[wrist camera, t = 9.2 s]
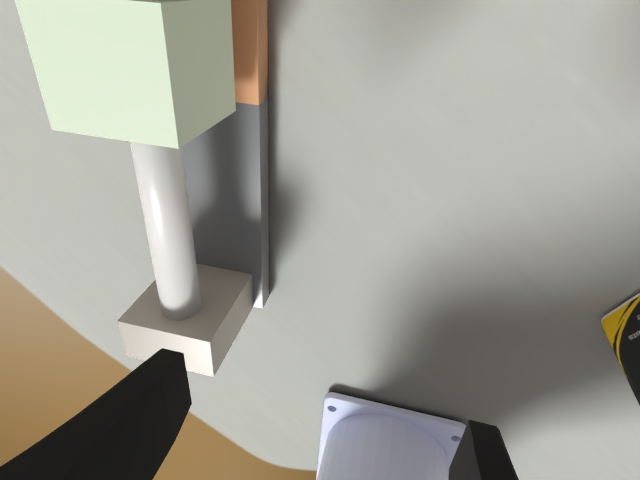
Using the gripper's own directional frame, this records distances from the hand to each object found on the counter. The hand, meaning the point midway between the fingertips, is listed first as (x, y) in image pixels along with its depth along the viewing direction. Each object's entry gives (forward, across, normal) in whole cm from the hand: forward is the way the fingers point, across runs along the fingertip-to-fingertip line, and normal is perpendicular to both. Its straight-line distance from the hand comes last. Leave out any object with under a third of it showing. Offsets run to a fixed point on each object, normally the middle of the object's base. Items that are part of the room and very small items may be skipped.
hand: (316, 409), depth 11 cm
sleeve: (+7, +7, -7) cm, 12 cm away
